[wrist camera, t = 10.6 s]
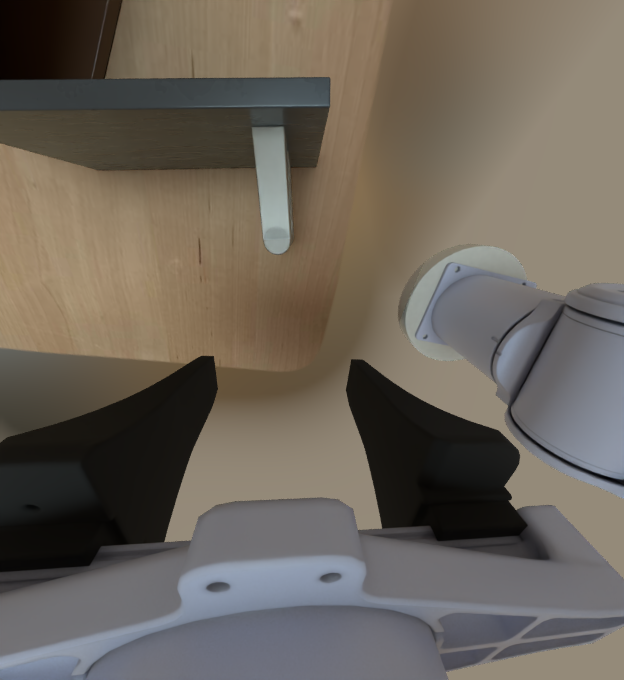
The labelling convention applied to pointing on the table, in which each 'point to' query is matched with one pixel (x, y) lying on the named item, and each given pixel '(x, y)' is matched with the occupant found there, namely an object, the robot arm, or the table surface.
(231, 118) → the door
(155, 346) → the table surface
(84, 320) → the table surface
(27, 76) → the cabinet
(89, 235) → the table surface
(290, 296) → the table surface
